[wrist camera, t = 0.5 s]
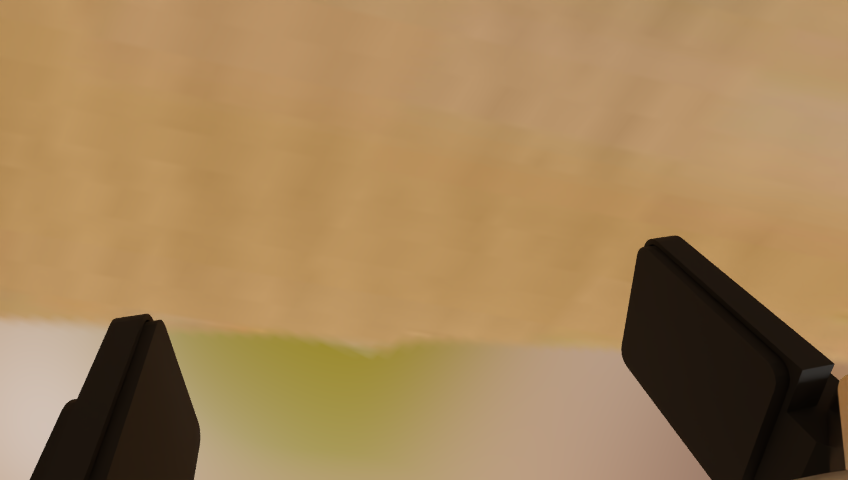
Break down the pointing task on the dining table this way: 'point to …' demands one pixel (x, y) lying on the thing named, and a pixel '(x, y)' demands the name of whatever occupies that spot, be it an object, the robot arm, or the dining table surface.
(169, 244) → the dining table surface
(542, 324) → the dining table surface
